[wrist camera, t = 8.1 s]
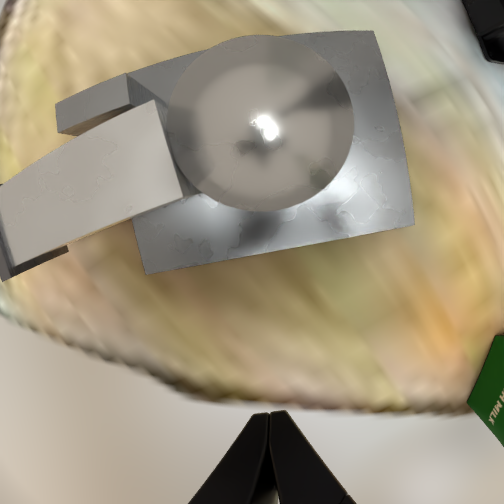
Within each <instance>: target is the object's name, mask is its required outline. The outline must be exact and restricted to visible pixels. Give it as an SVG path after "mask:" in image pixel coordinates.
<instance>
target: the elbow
mask: <svg viewBox="0 0 504 504" xmlns="http://www.w3.org/2000/svg"><path fill="white" fill-rule="evenodd" d="M353 134H354V113H353V106H352V103H351V99H350V96H349V93H348V91H347V89H346V87H345V84H344V83H343V81H342V79H341V78H340V76H339V75H338V73H337V72H336V71H335V70H334V68H333V67H332V66H331V65H330V64H329V63H328V62H327V61H326V60H325V59H324V58H323V57H321V56H320V55H319V54H317V53H316V52H315V51H313V50H312V49H310V48H308V47H306V46H304V45H303V44H300V43H298V42H295V41H293V40H290V39H286V38H282V37H277V36H271V35H250V36H242V37H238V38H233V39H230V40H228V41H225V42H222V43H220V44H218V45H216V46H214V47H212V48H210V49H209V50H207V51H206V52H204V53H203V54H201V55H200V56H199V57H198V58H197V59H195V60H194V61H193V62H192V63H191V64H190V65H189V66H188V68H187V69H186V70H185V71H184V73H183V74H182V75H181V77H180V78H179V80H178V82H177V84H176V86H175V88H174V90H173V92H172V95H171V98H170V101H169V106H168V109H167V108H165V107H164V106H163V105H161V104H160V103H158V102H157V101H155V100H151V101H149V102H147V103H145V104H142V105H140V106H138V107H135V108H133V109H131V110H129V111H127V112H125V113H123V114H120V115H118V116H116V117H114V118H112V119H110V120H108V121H106V122H104V123H102V124H100V125H98V126H96V127H94V128H93V129H91V130H89V131H87V132H85V133H83V134H81V135H80V136H78V137H76V138H74V139H72V140H71V141H69V142H67V143H65V144H64V145H62V146H60V147H59V148H57V149H55V150H54V151H52V152H50V153H49V154H47V155H46V156H44V157H42V158H41V159H39V160H38V161H36V162H35V163H33V164H32V165H30V166H28V167H27V168H25V169H24V170H23V171H21V172H20V173H18V174H17V175H15V176H14V177H12V178H11V179H10V180H8V181H7V182H5V183H4V184H0V277H1V280H2V282H3V281H5V280H7V279H10V278H12V277H14V276H16V275H18V274H20V273H22V272H24V271H27V270H29V269H31V268H33V267H35V266H37V265H40V264H42V263H44V262H46V261H48V260H51V259H53V258H55V257H58V256H60V255H62V254H64V253H67V252H69V250H68V248H67V245H68V244H70V243H72V242H75V241H77V240H79V239H82V238H84V237H87V236H89V235H91V234H94V233H96V232H99V231H101V230H104V229H106V228H109V227H111V226H114V225H116V224H119V223H121V222H124V221H127V220H129V219H132V218H134V217H137V216H140V215H142V214H145V213H148V212H150V211H153V210H156V209H159V208H161V207H164V206H167V205H170V204H173V203H175V202H178V201H181V200H184V199H187V198H190V197H193V196H196V195H198V194H201V193H204V194H205V195H207V196H208V197H210V198H212V199H213V200H215V201H217V202H219V203H222V204H224V205H226V206H229V207H233V208H236V209H240V210H247V211H259V212H266V211H276V210H281V209H285V208H289V207H292V206H295V205H298V204H300V203H302V202H304V201H306V200H308V199H310V198H312V197H313V196H315V195H316V194H318V193H319V192H321V191H322V190H323V189H324V188H325V187H326V186H327V185H328V184H329V183H331V181H332V180H333V179H334V178H335V177H336V175H337V174H338V173H339V171H340V170H341V168H342V166H343V165H344V163H345V161H346V159H347V157H348V154H349V152H350V148H351V145H352V141H353Z"/></svg>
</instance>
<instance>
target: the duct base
mask: <svg viewBox="0 0 504 504" xmlns="http://www.w3.org/2000/svg"><path fill="white" fill-rule="evenodd" d="M277 37H282V38H286V39H290V40H293V41H295V42H298V43H300V44H303V45H304V46H306V47H308V48H310V49H312V50H313V51H315V52H316V53H317V54H319V55H320V56H321V57H323V58H324V59H325V60H326V61H327V62H328V63H329V64H330V65H331V66H332V67H333V68H334V70H335V71H336V72H337V73H338V75H339V76H340V78H341V79H342V81H343V83H344V84H345V87H346V89H347V91H348V93H349V96H350V99H351V103H352V106H353V113H354V134H353V141H352V145H351V148H350V152H349V154H348V157H347V159H346V161H345V163H344V165H343V166H342V168H341V170H340V171H339V173H338V174H337V175H336V177H335V178H334V179H333V180H332V181H331V183H329V184H328V185H327V186H326V187H325V188H324V189H323V190H322V191H321V192H319V193H318V194H316V195H315V196H313V197H312V198H310V199H308V200H306V201H304V202H302V203H300V204H298V205H295V206H292V207H289V208H285V209H281V210H276V211H266V212H259V211H247V210H240V209H236V208H233V207H229V206H226V205H224V204H222V203H219V202H217V201H215V200H213V199H212V198H210V197H208V196H207V195H205V194H204V193H201V194H198V195H196V196H193V197H190V198H187V199H184V200H181V201H178V202H175V203H173V204H170V205H167V206H164V207H161V208H159V209H156V210H153V211H150V212H148V213H145V214H142V215H140V216H137V217H134V218H132V223H133V227H134V231H135V235H136V239H137V243H138V247H139V251H140V255H141V259H142V263H143V266H144V270H145V274H146V275H147V274H153V273H158V272H164V271H169V270H175V269H180V268H186V267H191V266H197V265H202V264H208V263H213V262H219V261H224V260H229V259H235V258H240V257H246V256H251V255H257V254H262V253H267V252H273V251H278V250H284V249H289V248H294V247H300V246H305V245H311V244H316V243H321V242H327V241H332V240H337V239H343V238H348V237H354V236H359V235H364V234H370V233H375V232H380V231H386V230H391V229H396V228H401V227H407V226H412V225H415V221H414V211H413V202H412V194H411V186H410V179H409V173H408V166H407V160H406V154H405V149H404V143H403V138H402V133H401V128H400V124H399V119H398V115H397V110H396V106H395V102H394V98H393V94H392V90H391V86H390V83H389V79H388V76H387V72H386V69H385V65H384V62H383V59H382V55H381V52H380V49H379V46H378V43H377V40H376V37H375V34H374V31H332V32H316V33H304V34H294V35H285V36H277ZM207 50H209V49H207ZM207 50H203V51H199V52H195V53H191V54H188V55H184V56H180V57H177V58H173V59H170V60H167V61H163V62H160V63H157V64H154V65H151V66H148V67H145V68H142V69H139V70H136V71H133V72H131V73H128V74H126V73H125V74H122V75H119V76H117V77H114V78H112V79H109V80H107V81H104V82H102V83H99V84H97V85H95V86H92V87H90V88H88V89H86V90H83V91H81V92H79V93H77V94H75V95H73V96H71V97H68V98H66V99H64V100H62V101H60V102H58V103H56V104H55V108H56V120H57V130H58V133H61V134H67V135H73V136H80V135H81V134H83V133H85V132H87V131H89V130H91V129H93V128H94V127H96V126H98V125H100V124H102V123H104V122H106V121H108V120H110V119H112V118H114V117H116V116H118V115H120V114H123V113H125V112H127V111H129V110H131V109H133V108H135V107H138V106H140V105H142V104H145V103H147V102H149V101H151V100H155V101H157V102H158V103H160V104H161V105H163V106H164V107H165V108H167V109H168V106H169V101H170V98H171V95H172V92H173V90H174V88H175V86H176V84H177V82H178V80H179V78H180V77H181V75H182V74H183V73H184V71H185V70H186V69H187V68H188V66H189V65H190V64H191V63H192V62H193V61H194V60H195V59H197V58H198V57H199V56H200V55H201V54H203V53H204V52H206V51H207Z"/></svg>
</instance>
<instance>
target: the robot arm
mask: <svg viewBox="0 0 504 504" xmlns="http://www.w3.org/2000/svg"><path fill="white" fill-rule="evenodd" d="M462 1H463V3H464V5H465V7H466V9H467V12H468V14H469V16H470V18H471V21H472V23H473V26H474V28H475V31H476V33H477V36H478V38H479V41H480V44H481V46H482V49H483V52H484V55H485V57H486V59H487V60H488V61H490V62H494V63H499V64H504V0H462ZM490 55H491V56H490ZM278 497H279V502H280V504H356V502H355V501H354V500H353V499H352V497H351V496H350V495H347V492H346V490H345V489H344V488H343V486H342V485H341V484H340V483H339V481H338V480H337V479H336V477H335V476H334V475H333V473H332V472H331V471H330V470H329V468H328V467H327V466H326V464H325V463H324V462H323V460H322V459H321V458H320V456H319V455H318V454H317V452H316V451H315V450H314V448H313V447H312V446H311V444H310V443H309V442H308V440H307V439H306V437H305V436H304V435H303V433H302V432H301V430H300V429H299V428H298V426H297V425H296V423H295V422H294V421H293V419H292V418H291V416H290V415H289V414H288V412H287V411H286V410H281V411H273V412H271V413H270V414H269V413H267V412H265V413H257V414H253V415H252V416H251V418H250V420H249V421H248V422H247V424H246V425H245V427H244V428H243V430H242V431H241V433H240V434H239V435H238V437H237V438H236V440H235V441H234V443H233V444H232V446H231V447H230V448H229V450H228V451H227V453H226V454H225V455H224V457H223V458H222V460H221V461H220V462H219V464H218V465H217V466H216V468H215V469H214V471H213V472H212V473H211V474H210V476H209V477H208V479H207V480H206V481H205V483H204V484H203V485H202V486H201V488H200V489H199V490H198V492H197V493H196V494H195V496H194V497H193V498H192V499H191V501H190V502H189V503H188V504H278Z"/></svg>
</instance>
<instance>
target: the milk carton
mask: <svg viewBox="0 0 504 504" xmlns="http://www.w3.org/2000/svg"><path fill="white" fill-rule="evenodd" d="M467 404H468V405H469V406H470V407H471V408H472V409H473V410H474V412H475V413H476V414H477V415H478V416H479V417H480V419H481V420H482V421H483V422H484V423H485V424H486V426H487V427H488V428H489V429H490V430H491V431H492V433H493V434H494V435H495V436H496V437H497V439H498V440H499V441H500V442H501V444H502V445H503V447H504V335H501V336H495V338H494V341H493V344H492V346H491V349H490V352H489V354H488V357H487V359H486V362H485V364H484V367H483V369H482V371H481V374H480V376H479V378H478V380H477V383H476V385H475V387H474V389H473V391H472V393H471V395H470V397H469V399H468V401H467Z"/></svg>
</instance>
